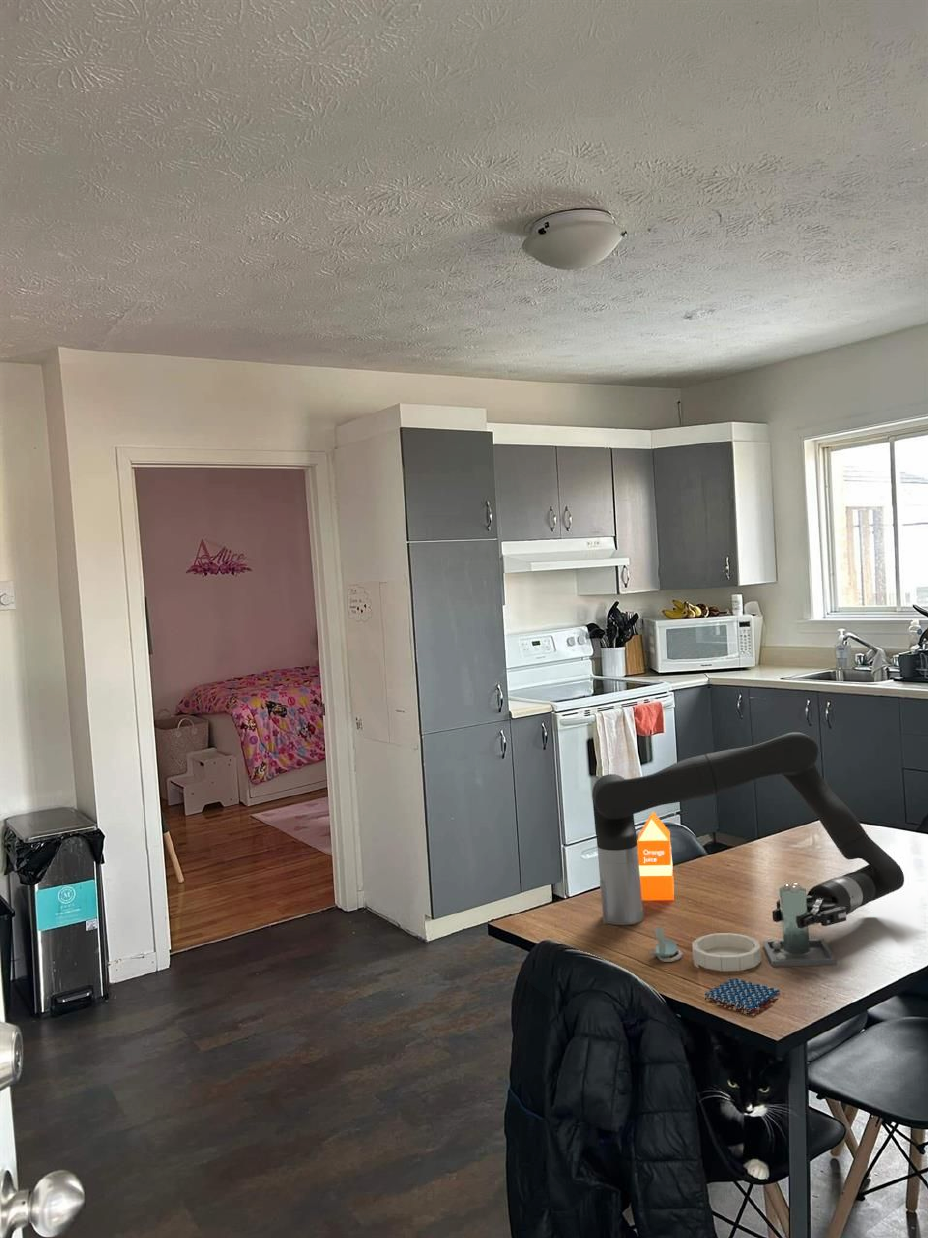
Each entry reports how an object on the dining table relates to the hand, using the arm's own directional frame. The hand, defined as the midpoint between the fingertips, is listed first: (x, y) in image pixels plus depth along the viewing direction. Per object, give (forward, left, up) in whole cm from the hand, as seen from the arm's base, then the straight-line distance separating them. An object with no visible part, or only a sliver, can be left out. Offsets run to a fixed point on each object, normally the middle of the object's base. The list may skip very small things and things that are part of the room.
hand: (786, 920), depth 189 cm
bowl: (-12, +1, -9) cm, 15 cm away
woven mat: (-11, -16, -9) cm, 22 cm away
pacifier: (-24, +5, -9) cm, 26 cm away
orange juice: (-23, +46, -9) cm, 52 cm away
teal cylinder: (+2, +2, -7) cm, 7 cm away
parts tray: (+2, +2, -9) cm, 9 cm away
